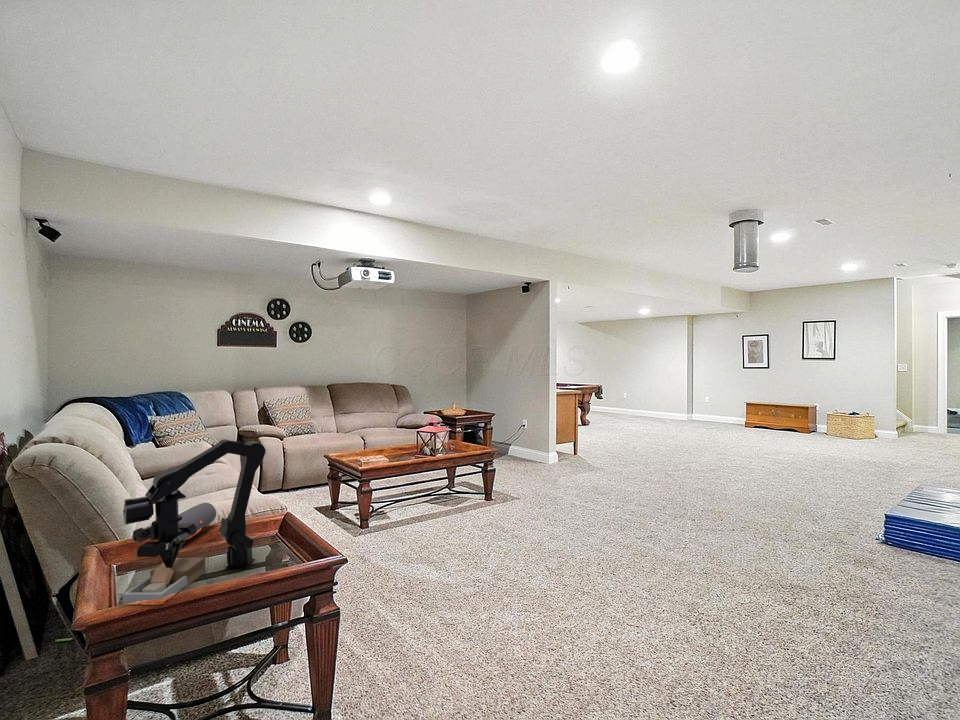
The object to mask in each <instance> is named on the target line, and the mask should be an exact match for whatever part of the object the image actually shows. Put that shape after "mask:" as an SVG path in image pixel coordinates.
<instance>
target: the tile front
mask: <svg viewBox="0 0 960 720" xmlns="http://www.w3.org/2000/svg"><path fill="white" fill-rule="evenodd" d="M165 589H166V583H151V584H149V585H148V586H146V587H145V588H143V589H142V593H161V592H162V591H163V590H165Z"/></svg>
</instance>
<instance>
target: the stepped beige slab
mask: <svg viewBox="0 0 960 720" xmlns="http://www.w3.org/2000/svg"><path fill="white" fill-rule="evenodd" d="M156 568H166V566H165V564H164V562H163V561H162V563H160V564H159V565H157V566H156V567H154V568H152V569H151V570H150V572H149V573H150V575H149V576H153V574H154V572H155V570H156ZM171 569H172V570H173V571H174V573H173V575H172V577H171V580H170V582H169V584H173V583H175V582H176V581H177V580H179V579H180V578H181V577H183V576H187V587H188V586H189V585H191V584H192V583H193V582H195V581H196V580H198V579H199V578H200V577H202V576H203V574H205V573H206V558H205V557H176V560H175V562H174V564H173V566H172V568H171Z"/></svg>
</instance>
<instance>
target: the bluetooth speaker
mask: <svg viewBox="0 0 960 720" xmlns="http://www.w3.org/2000/svg"><path fill="white" fill-rule="evenodd" d="M179 516H182V520H180V521H179V524H194V525H195V526H196V531H197V530H199V529H200V528H203V527H205V528H206V527H208V526H209V525H210V524H212V522H213V521H214V520H215V519H216V517H217V510H216V508H215V506H214V505H213V504H211V503H210V502H203V503H200V504H197V505H194V506H192V507H191V508H188V509H186V510H184V511H182V512H181V513H179ZM203 529H204V528H203ZM189 536H191V535H189V534H188V533H184V534H183V535H181V536H179V537H180V538H181V540H185V539H186V538H188V537H189Z"/></svg>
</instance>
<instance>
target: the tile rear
mask: <svg viewBox="0 0 960 720" xmlns="http://www.w3.org/2000/svg"><path fill="white" fill-rule="evenodd" d="M155 568H156V567H155ZM173 573H174V571H173V570H172V569H171V568H156V570H155V572H154V574H153V577H152V579H151V581H150V582H151V583H166V585H168V584H169V582H170V580H171V577H172V575H173Z"/></svg>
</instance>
